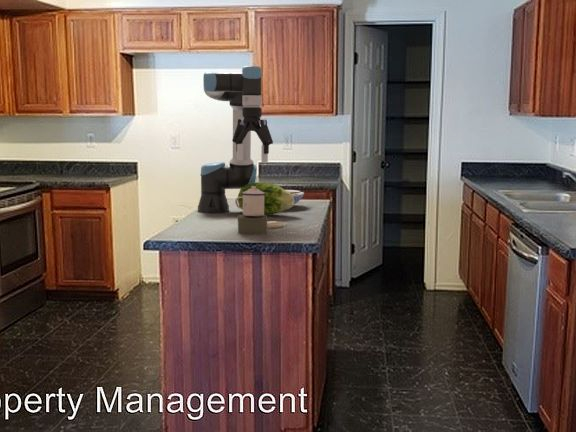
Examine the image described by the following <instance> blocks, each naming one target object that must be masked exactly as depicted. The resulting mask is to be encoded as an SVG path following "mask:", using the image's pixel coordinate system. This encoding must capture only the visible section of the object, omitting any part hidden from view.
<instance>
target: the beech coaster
mask: <svg viewBox="0 0 576 432" xmlns="http://www.w3.org/2000/svg"><path fill="white" fill-rule="evenodd" d="M283 225H284V224H283V222H281V221H277V220H276V221H275V220H273V221H272V220H267V229H279V228H280V229H281V228H282V227H283Z"/></svg>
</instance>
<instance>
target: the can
mask: <svg viewBox="0 0 576 432" xmlns="http://www.w3.org/2000/svg"><path fill="white" fill-rule="evenodd" d="M267 221H268V215H263V216H245V215H243V213H241V214H238V215H237V229H238V231H237V234H239V235H242V236H262V234H263V235H266V234H267V233H268V228H267Z"/></svg>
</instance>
